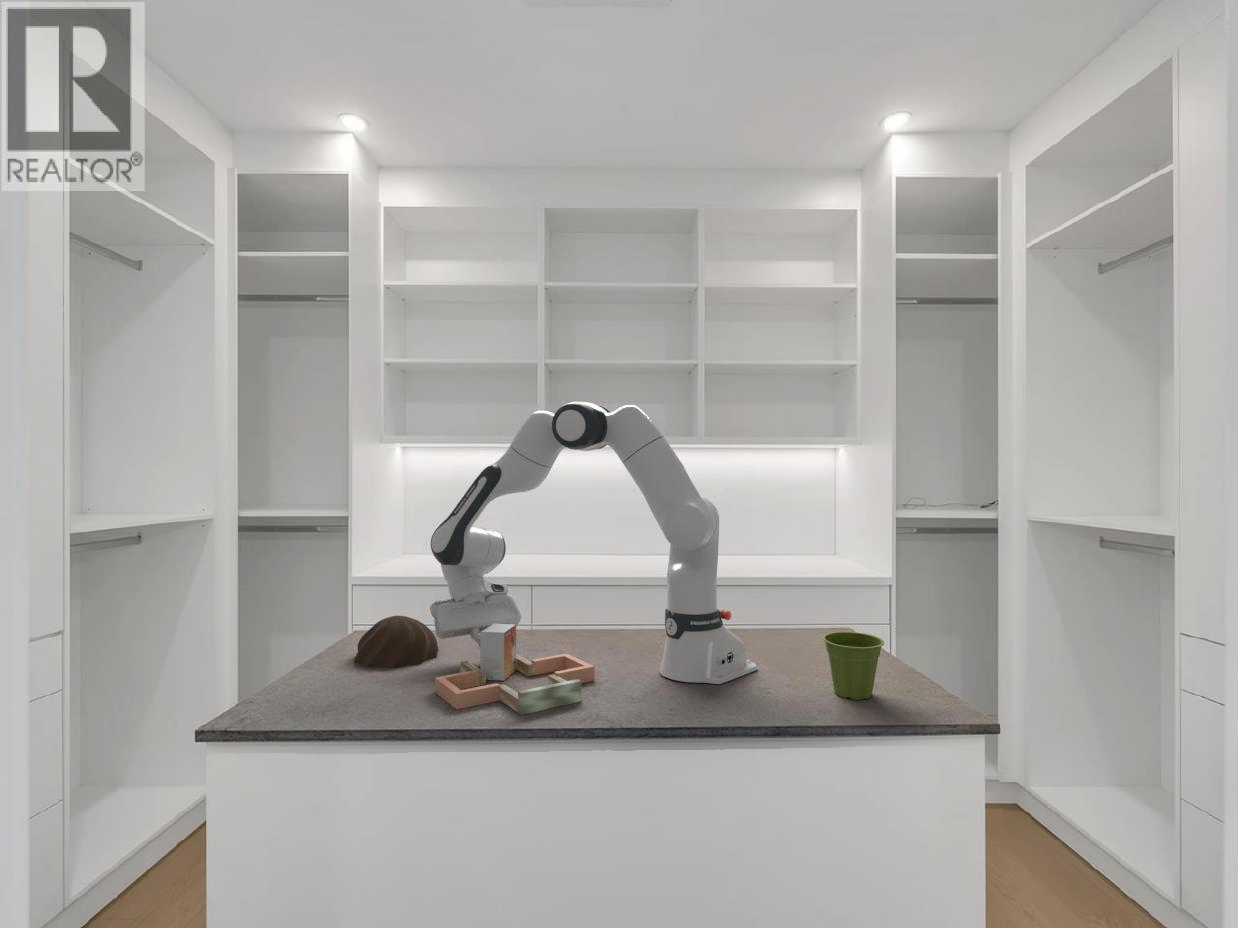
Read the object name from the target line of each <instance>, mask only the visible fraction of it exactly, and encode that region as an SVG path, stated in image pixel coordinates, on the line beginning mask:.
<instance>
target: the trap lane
mask: <svg viewBox="0 0 1238 928" xmlns="http://www.w3.org/2000/svg"><path fill="white" fill-rule="evenodd" d="M459 663H460V666H459V667H460V668H459V669H460V672H459V673H462V672H467V671H473V670H477V671H479V686H478V687H480V685H481V686H485V685H487V680H486V673H485V672H484V671H482V670H480V668H479V667H477V666H476V665H474V664H473V663H471V662H469V661H468V660H464V661H460V662H459ZM516 671H519V672H520V673H522V674H524V675H526V676H527V677H533V676H536V675H535V664H534V663H532V662H531V661H530V660H528V659H527V658H525V657H523V656H520V655H519V654H517V653H516ZM499 685H500V700H499V701H500V702H501V703H504V704H505V705H506V706H508V707H510V709H512V710H514V711H515V712H517V713H518V714H519V715H521V716H523V715H528V714H532V713H537V712H541V711H544V710H545V711H546V710H549V708H550V709H554V708H558V707H562V706H566V705H571V704H575V703H580V702H582V683H581V680H579V679H575V680H570V681H566V680H564V679H562V678H561V677H559V676H557V675H555V674H554V673H553V674H549V675H547V684H546V685H541V686H537V687H533V688H527V689H523V690H519V691H515V690H513V688H510V687H509V686H508V685H506V684H499Z"/></svg>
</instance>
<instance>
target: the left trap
mask: <svg viewBox="0 0 1238 928" xmlns="http://www.w3.org/2000/svg"><path fill="white" fill-rule="evenodd" d="M500 685H501V684H499V683H498V682H496V683H491V684H486V685H481V686H479V671H477V670H473V671H467V672H462V673H460V672H457V673H452V674H447V675H446V674H445V675H440V676H436V677H435V676H434V693H435V692H436V693H435V694H437V695H438V696H439V697H440V696H441V697H440V698H441V699H443V700H444V701H445V702H446V703H448V704H449V705H450V706H451V707H452V708H454V709H455V708H456V709H457V710H460V709H459V708H462V709H466V708H470V707H475V706H479V705H485V704H489V703H493V702H499V701H500ZM475 686H476V687H475ZM469 687H471V688H469ZM464 688H466V689H464ZM460 689H461V690H460ZM456 709H455V710H456Z"/></svg>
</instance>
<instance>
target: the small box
mask: <svg viewBox="0 0 1238 928" xmlns="http://www.w3.org/2000/svg"><path fill="white" fill-rule="evenodd" d="M479 635H480V647H479V652H480V653H479V656H480V657H479V658H480V659H479V660H480V662H479V663H480V664H479V667H480V668H479V669H480V670H482V671H484V672H485V673H486V681H506V680H507V678H509V677H510V676H511V675H512V674H514V673H515V672H516V671H517V669H516V654H517V627H516V625H514V624H492V625H491V626H490V627H488V628H486V629H485V630H483V631H481V632H480V633H479Z"/></svg>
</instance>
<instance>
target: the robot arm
mask: <svg viewBox="0 0 1238 928" xmlns="http://www.w3.org/2000/svg"><path fill="white" fill-rule="evenodd" d="M606 446H609V447H610V448H611V449H612V450H613V452H615V454H616V455H617V457H618V458H619V459H620V461H621V463H622V464H623V467H625V469H626V471H627V473H629V475H630V477H631V478H632V480H633V481H634V483H635V484H636V485H637V487H638V488H639V490H640V492H641V493H642V496H643V497H644V499H645V502H646V503H647V504H648V505H647V506H648V507H649V509H650V511H651V513H652V515H653V517H654V519H655V521H656V522H657V524H658V526H659V528H660V530H661V531H662V533H663V535H664V537H665V539H666V540H667V542H668V543H669V556H668V564H667V565H668V567H667V571H666V572H667V573H666V582H667V583H666V608H665V611H664V627H665V633H666V634H665V642H664V650H663V656H662V660H661V665H660V667H659V668H660V669H659V673H660V675H661V676H662V677H664V678H667V679H670V680H673V681H677V682H684V683H704V684H706V683H707V684H711V685H721V684H724V683H728V681H732V680H735V679H737V678H740V677H742V676H745V675H748V674H751V673H752V672H756V671H757V670H758V666H757V664H756V663H755V662H754V661H751V659H747V650H746V645H745V643H744V642H743V640H742V639H741V638H740V637H738V636H737V635H736V634H734V633H733V632H732V631H731V630H729V629H728V628H727V627H726V626H725V625H724V622H723V620H726V621H730V620H731V618H732V612H731V611H729V610H725V609H722V610H720V609H718V561H719V546H720V545H719V542H720V541H719V540H720V538H719V537H720V515H719V511H718V510H717V508H716V506H715V504H713V502H712V501H710V500H709V499H707V498H705V497H702V496H701V495H700V493H699V491H698V490H697V488H696V486H695V484H694V483H693V481H692V480H691V478H690V476H689V474H688V472H687V470H686V468H685V466H684V464H683V463H682V461H681V460H680V459H679V457H678V456H677V454H676V452H675V451H674V450H673V448H672V447H671V444H669V442H668V440H667V439H666V438H665V436H664V435H663V433H662V432H661V431H660V429H659V428H658V427H657V425H656V424H655V423H654V422H653V420H652V419H650V417H649V416H648V415H647V414H646V413H645V412H644V411H643V410H642V409H641V408H640V407H638V406H636V405H633V404H627V405H622V406H620V407H618V408H616V409H615V410H613V411H610V410H608V409H607V408H605V407H604V406H601V405H596V404H595V403H592V402H587V401H586V402H585V401H570V402H568V403H565V404H563V405H562V406H560V407H559V408H558V409H557V410H556V411H555V413H553V412H550V411H547V410H537V411H534V412H532V413H531V414H530V415H529V416H528V418H527V419H526V420H525V421H524V423H523V424H522V426H521V427H520V428H519V430H518V431H517V433H515V436H514V437H513V439H512V441H511V444H509V447H508V448H507V450H506V451H505V453H504V454H503V455H502V456H501V457H500V458H498V459H497V461H495V462H494V463H493V464H491V465H488V466H486V467H485V468H484V469H483V470H482V471H481V472H480V473H479V474H478V476H477V477H476V478H475V479H474V480H473V482H472V483H471V485H470V486H469V488H468V489H467V490H466V492H465V493H464V495H463V496H462V497H461V499H460V500H459V502H458V503H457V504H456V505H455V507H454V508H453V510H452V511H451V513H450V514H449V515H448V516H447V518H445V519H444V520H443V521H442V522H441V523H440V524H439V525H438V527H437V528H436V529H435V530H434V532H433V534H432V536H431V539H430V549H431V552H432V554H433V556H434V558H435V559H436V561H437V562H438V563H440V568H441V571H442V574H443V575H442V576H443V578H444V580H445V582H446V583H447V585H448V593H449V597H450V598H449V599H445V600H435V601H434V602H433V603H431V604H430V607H429V610H430V614H431V616H432V617H433V621H434V629H435V630H434V631H435V634H436V636H437V637H438V638H439V639H441V640H445V639H451V638H457V637H462V636H469V635H470V638H471V639H472V640H473V641H474V642H475V643H476V644H478V647H479V648H480V632H481V631H483V630H485V629H486V628H488V627H490V626H491V625H492V624H514V625H516V628H517V627H518V625H519V624H520V622H521V619H522V615H521V611H520V609H519V607H518V604H517V602H516V601H515V599H514V598H513V597H512V596H511V595H510V594H508V593H509V588H508V586H507V585H505V584H501V583H496V582H490V581H488V580H485V579H484V576H485V575H486V574H487V575H488V573H491V572H492V571H493V570H494V569H496V567H498V566H499V565H500V564H501V563H502V561H503V560H504V559H505V556H506V553H507V552H506V549H507V545H506V542H505V541H506V540H505V538H504V536H503V535H502V533H501V532H500V531H498V530H494V529H490V528H487V527H480V526H479V527H478V526H475V525H474V524H475V523H476V522H477V520H478V519H479V517H480V516H481V514H483V513H482V512H483V511H484V510H485V508H486V507H487V506H488V505H489V504H490V503H491V502H492V501H494V500H495V499H497V498H500V497H503V496H507V495H511V494H517V493H526V492H530V491H533V490H535V489H537V488H538V487H540V485H542V483H543V482H544V481H545V480H546V478H547V476H548V475H549V474H550V471H551V469H552V468H553V466H554V465H555V462H556V460H557V459H558V457H559V455H560V454H561V452H562V451H563V450H564V449H566V448H567V449H570V450H575V451H578V450H579V451H584V452H586V451H587V452H588V451H595V450H600V449H602V448H605V447H606ZM473 525H474V526H473Z"/></svg>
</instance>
